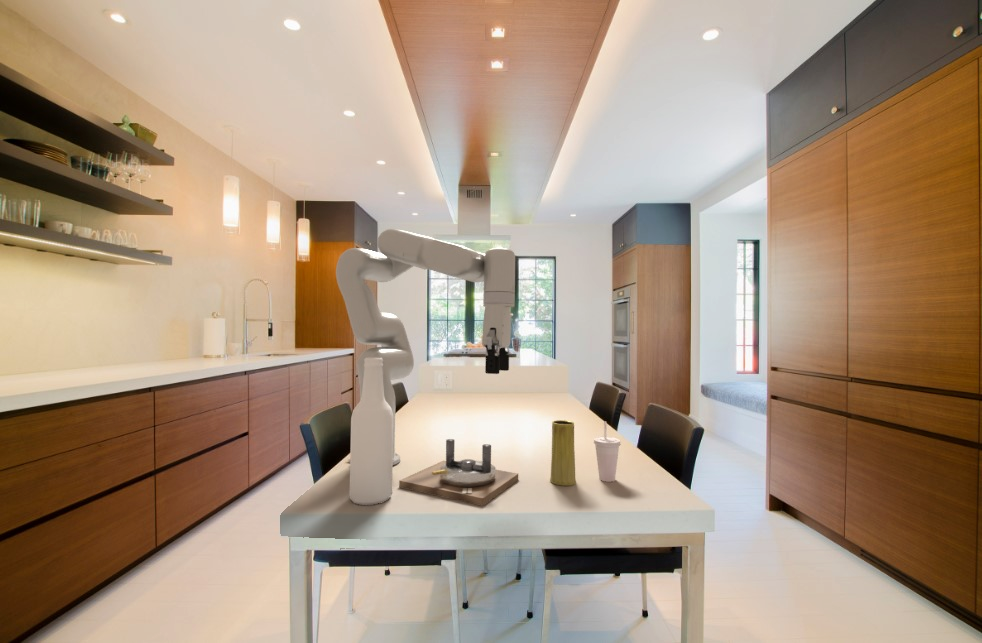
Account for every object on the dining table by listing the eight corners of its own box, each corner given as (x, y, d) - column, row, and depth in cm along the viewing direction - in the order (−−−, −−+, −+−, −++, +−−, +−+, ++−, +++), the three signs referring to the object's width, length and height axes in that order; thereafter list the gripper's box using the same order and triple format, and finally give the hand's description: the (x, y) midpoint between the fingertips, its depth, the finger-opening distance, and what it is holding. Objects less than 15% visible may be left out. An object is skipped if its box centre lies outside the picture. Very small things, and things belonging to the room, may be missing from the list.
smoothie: (605, 473, 108) (605, 418, 108) (626, 480, 102) (626, 422, 103) (588, 477, 104) (588, 421, 105) (608, 485, 99) (608, 425, 99)
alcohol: (390, 505, 86) (392, 359, 87) (345, 507, 85) (348, 359, 86) (393, 489, 95) (395, 357, 96) (353, 491, 94) (356, 357, 95)
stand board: (399, 487, 96) (399, 479, 97) (443, 466, 112) (443, 459, 112) (482, 505, 86) (482, 497, 86) (518, 479, 102) (518, 472, 102)
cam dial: (424, 482, 94) (425, 446, 95) (459, 465, 107) (459, 434, 108) (474, 493, 88) (475, 454, 89) (504, 473, 101) (504, 440, 102)
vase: (575, 487, 97) (575, 425, 98) (549, 485, 99) (549, 424, 99) (575, 478, 103) (575, 420, 104) (550, 476, 105) (551, 419, 105)
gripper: (493, 303, 110) (491, 368, 110) (473, 297, 93) (471, 374, 93) (521, 303, 108) (520, 369, 108) (505, 297, 92) (504, 375, 91)
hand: (497, 371), depth 100 cm, fingers open, 9 cm apart
